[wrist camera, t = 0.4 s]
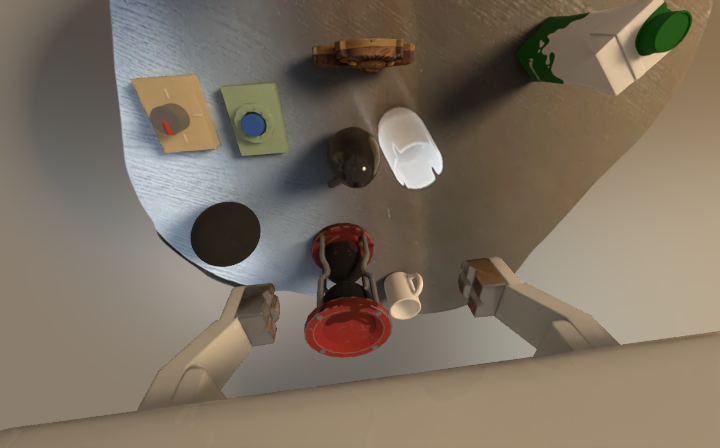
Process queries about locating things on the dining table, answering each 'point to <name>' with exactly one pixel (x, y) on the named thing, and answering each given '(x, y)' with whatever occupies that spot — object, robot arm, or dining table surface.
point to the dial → (170, 118)
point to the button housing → (265, 105)
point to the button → (253, 124)
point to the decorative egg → (225, 234)
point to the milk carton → (604, 45)
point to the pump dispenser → (353, 158)
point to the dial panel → (188, 97)
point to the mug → (403, 294)
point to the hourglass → (346, 295)
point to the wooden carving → (364, 54)
